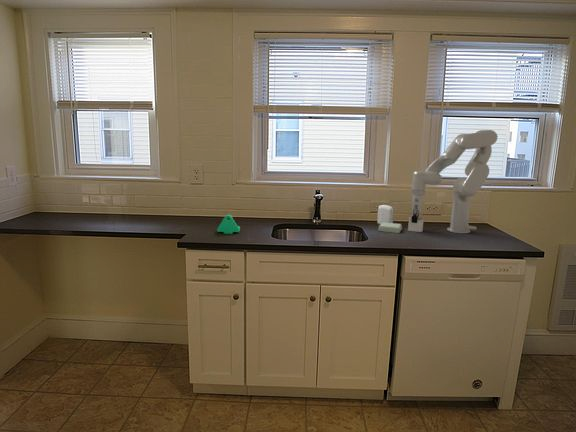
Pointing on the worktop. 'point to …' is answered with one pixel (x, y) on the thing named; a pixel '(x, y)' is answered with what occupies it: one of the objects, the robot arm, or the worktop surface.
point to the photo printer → (385, 214)
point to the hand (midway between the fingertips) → (414, 221)
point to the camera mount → (228, 225)
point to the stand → (390, 227)
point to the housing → (415, 225)
